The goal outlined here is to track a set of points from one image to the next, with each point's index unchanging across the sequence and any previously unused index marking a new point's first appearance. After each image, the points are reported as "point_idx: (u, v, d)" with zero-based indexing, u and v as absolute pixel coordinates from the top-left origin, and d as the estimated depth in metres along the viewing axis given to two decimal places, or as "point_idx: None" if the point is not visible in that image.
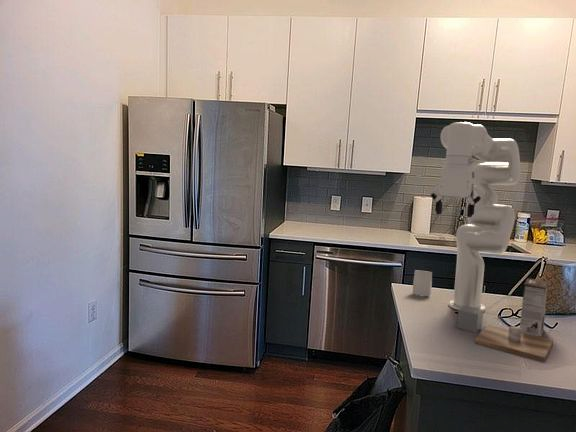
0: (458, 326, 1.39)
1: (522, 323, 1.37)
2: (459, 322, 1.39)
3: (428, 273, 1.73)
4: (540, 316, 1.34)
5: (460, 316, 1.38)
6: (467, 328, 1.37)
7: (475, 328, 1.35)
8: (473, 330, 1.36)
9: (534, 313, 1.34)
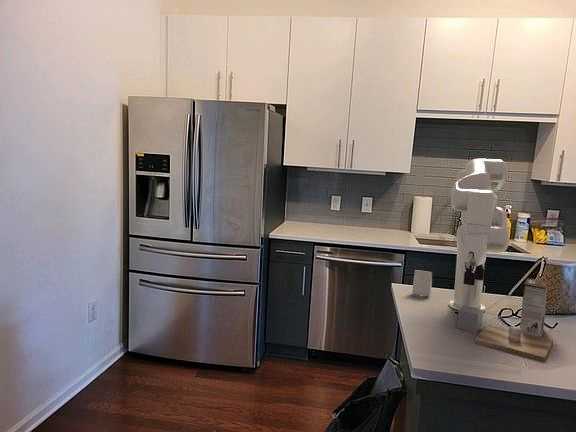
0: (458, 326, 1.39)
1: (522, 323, 1.37)
2: (459, 322, 1.39)
3: (428, 273, 1.73)
4: (540, 316, 1.34)
5: (460, 316, 1.38)
6: (467, 328, 1.37)
7: (475, 328, 1.35)
8: (473, 330, 1.36)
9: (534, 313, 1.34)
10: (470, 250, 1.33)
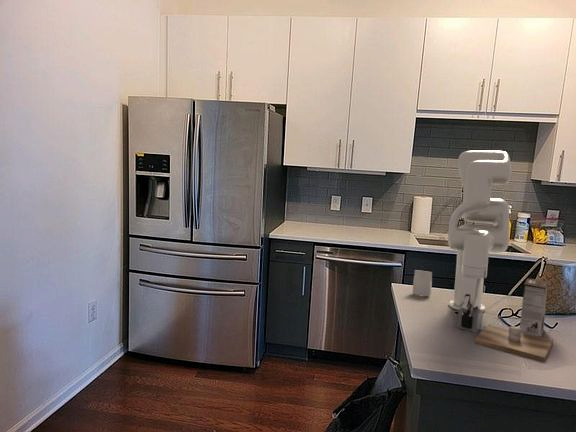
0: (458, 326, 1.39)
1: (522, 323, 1.37)
2: (459, 322, 1.39)
3: (428, 273, 1.73)
4: (540, 316, 1.34)
5: (460, 316, 1.38)
6: (467, 328, 1.37)
7: (475, 328, 1.35)
8: (473, 330, 1.36)
9: (534, 313, 1.34)
10: (467, 293, 1.34)
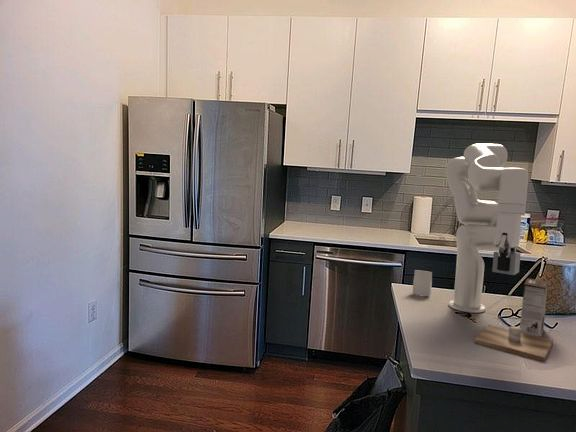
0: (493, 270, 1.28)
1: (522, 323, 1.37)
2: (495, 265, 1.28)
3: (428, 273, 1.73)
4: (540, 316, 1.34)
5: (495, 259, 1.28)
6: (504, 271, 1.26)
7: (513, 270, 1.25)
8: (510, 273, 1.25)
9: (534, 313, 1.34)
10: (504, 231, 1.24)
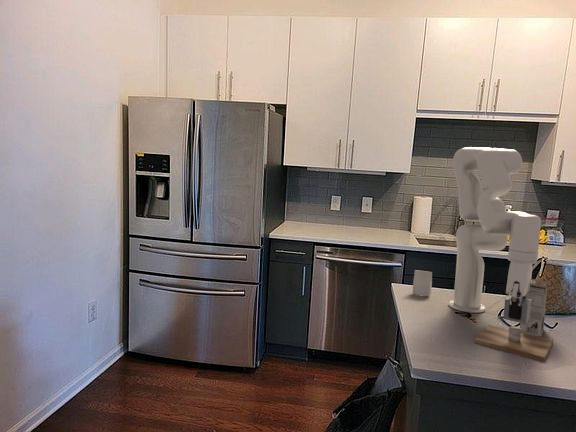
0: (504, 317, 1.26)
1: (522, 323, 1.37)
2: (506, 313, 1.26)
3: (428, 273, 1.73)
4: (540, 316, 1.34)
5: (507, 306, 1.26)
6: (515, 319, 1.24)
7: (525, 319, 1.23)
8: (522, 321, 1.23)
9: (534, 313, 1.34)
10: (516, 280, 1.22)
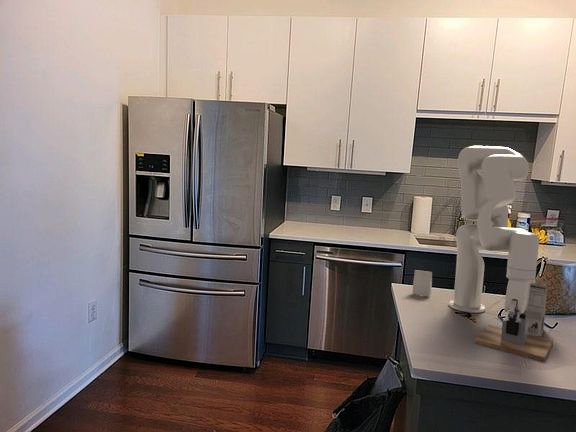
0: (502, 338, 1.27)
1: None
2: (504, 334, 1.27)
3: (428, 273, 1.73)
4: (540, 316, 1.34)
5: (504, 327, 1.27)
6: (513, 340, 1.25)
7: (522, 340, 1.24)
8: (520, 342, 1.24)
9: (534, 313, 1.34)
10: (514, 298, 1.22)
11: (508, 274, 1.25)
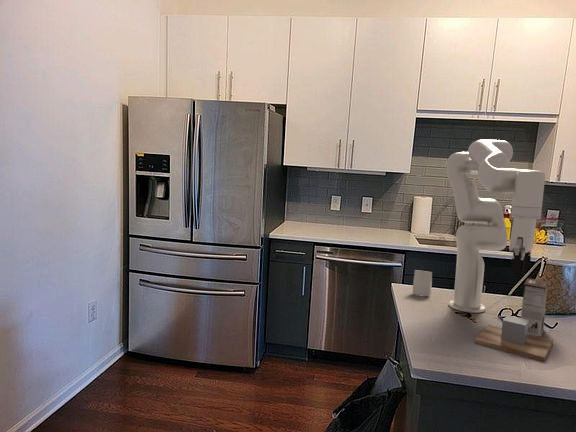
0: (502, 338, 1.27)
1: None
2: (504, 334, 1.27)
3: (428, 273, 1.73)
4: (540, 316, 1.34)
5: (504, 327, 1.27)
6: (513, 340, 1.25)
7: (522, 340, 1.24)
8: (520, 342, 1.24)
9: (534, 313, 1.34)
10: (519, 236, 1.21)
11: (513, 213, 1.23)
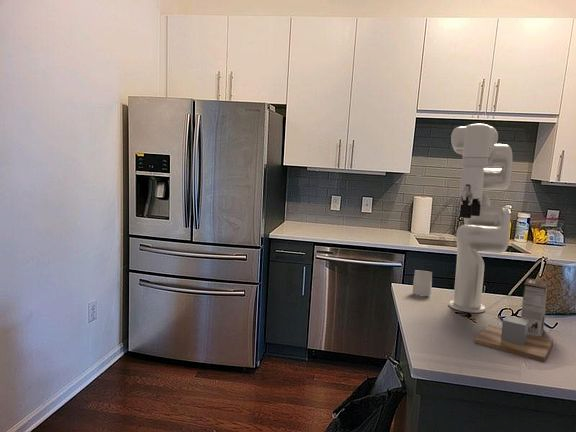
0: (502, 338, 1.27)
1: None
2: (504, 334, 1.27)
3: (428, 273, 1.73)
4: (540, 316, 1.34)
5: (504, 327, 1.27)
6: (513, 340, 1.25)
7: (522, 340, 1.24)
8: (520, 342, 1.24)
9: (534, 313, 1.34)
10: (467, 183, 1.33)
11: (463, 164, 1.36)
